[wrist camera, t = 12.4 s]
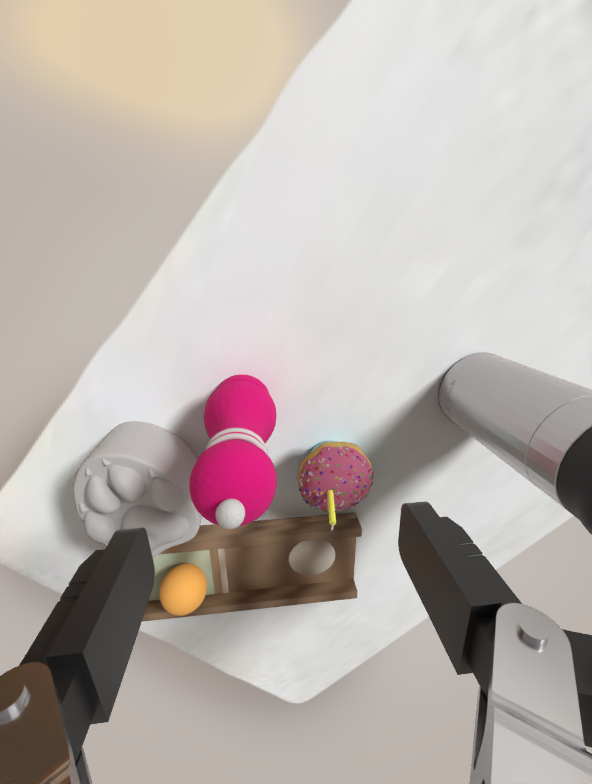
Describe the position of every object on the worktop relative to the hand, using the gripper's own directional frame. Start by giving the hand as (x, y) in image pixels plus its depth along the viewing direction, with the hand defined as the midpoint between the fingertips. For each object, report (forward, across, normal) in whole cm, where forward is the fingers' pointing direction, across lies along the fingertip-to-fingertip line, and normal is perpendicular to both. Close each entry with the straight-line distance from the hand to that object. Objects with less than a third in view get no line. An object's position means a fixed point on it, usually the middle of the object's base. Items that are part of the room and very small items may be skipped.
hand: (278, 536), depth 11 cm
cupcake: (+28, -7, +14) cm, 32 cm away
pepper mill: (+28, +3, +6) cm, 29 cm away
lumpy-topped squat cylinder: (+28, +14, +14) cm, 34 cm away
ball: (+24, +12, +29) cm, 39 cm away
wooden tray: (+28, +4, +29) cm, 40 cm away
